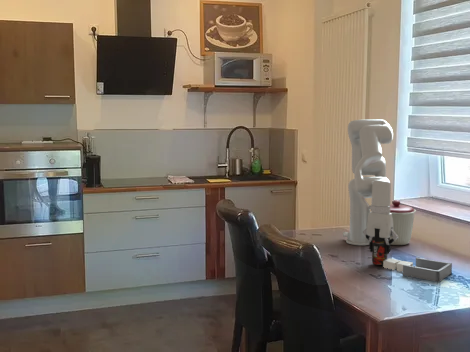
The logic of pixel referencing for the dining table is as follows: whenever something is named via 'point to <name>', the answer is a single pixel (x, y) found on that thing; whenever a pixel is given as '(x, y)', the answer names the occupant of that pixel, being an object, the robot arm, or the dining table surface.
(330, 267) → the dining table surface
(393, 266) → the tile back
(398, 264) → the tile front
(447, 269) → the grey u-shaped bracket
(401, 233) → the canister
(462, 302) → the dining table surface
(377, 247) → the deodorant
